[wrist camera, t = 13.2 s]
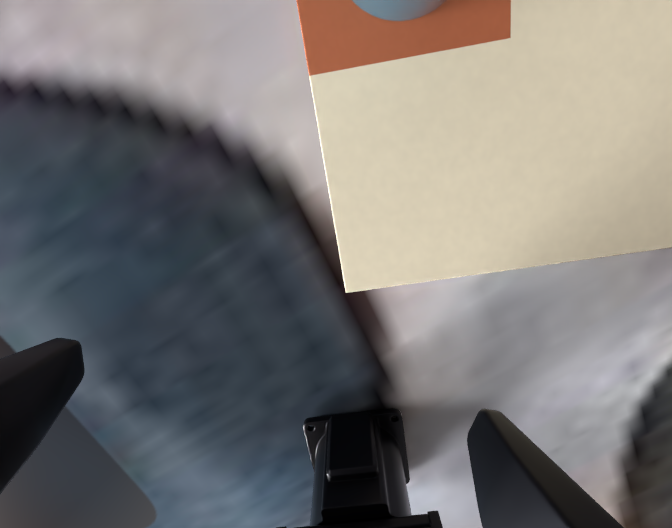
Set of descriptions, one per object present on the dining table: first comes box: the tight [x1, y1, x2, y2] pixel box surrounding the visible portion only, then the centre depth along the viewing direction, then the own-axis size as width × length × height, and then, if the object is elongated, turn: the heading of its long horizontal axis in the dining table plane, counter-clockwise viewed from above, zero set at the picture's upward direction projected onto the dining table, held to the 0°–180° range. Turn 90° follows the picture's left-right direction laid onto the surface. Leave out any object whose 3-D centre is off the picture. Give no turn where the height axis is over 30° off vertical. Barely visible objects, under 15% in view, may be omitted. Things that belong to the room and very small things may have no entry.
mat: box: [297, 0, 672, 293], centre depth 16 cm, size 20×20×1 cm
